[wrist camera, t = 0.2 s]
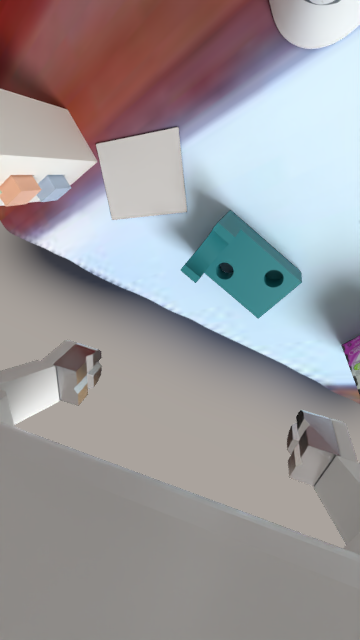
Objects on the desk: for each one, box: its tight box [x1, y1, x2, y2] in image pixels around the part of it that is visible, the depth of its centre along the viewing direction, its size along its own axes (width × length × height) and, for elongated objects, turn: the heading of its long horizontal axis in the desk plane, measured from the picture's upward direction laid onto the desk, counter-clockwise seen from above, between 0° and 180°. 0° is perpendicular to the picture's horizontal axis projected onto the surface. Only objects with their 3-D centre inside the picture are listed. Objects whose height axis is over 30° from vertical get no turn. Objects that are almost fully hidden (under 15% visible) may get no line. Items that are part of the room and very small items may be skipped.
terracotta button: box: [0, 175, 42, 206], centre depth 45 cm, size 5×4×4 cm
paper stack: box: [96, 127, 187, 220], centre depth 51 cm, size 23×25×1 cm
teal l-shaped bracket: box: [181, 210, 302, 318], centre depth 52 cm, size 18×11×10 cm, turn 54°
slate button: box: [37, 175, 71, 202], centre depth 52 cm, size 5×4×4 cm
